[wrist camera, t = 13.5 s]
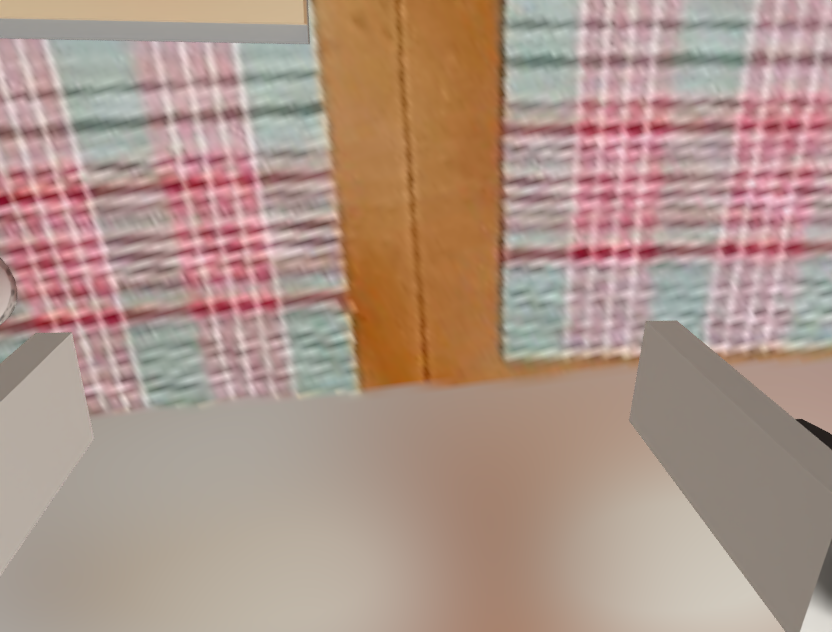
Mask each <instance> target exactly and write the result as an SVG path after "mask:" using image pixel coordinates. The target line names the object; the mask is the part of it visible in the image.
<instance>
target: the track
mask: <svg viewBox="0 0 832 632" xmlns="http://www.w3.org/2000/svg"><path fill="white" fill-rule="evenodd" d="M0 38H10V39H64V40H118V41H171V42H225V43H279V44H310V39H309V16H308V0H0Z"/></svg>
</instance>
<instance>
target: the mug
mask: <svg viewBox="0 0 832 632" xmlns="http://www.w3.org/2000/svg"><path fill="white" fill-rule="evenodd" d="M16 302H17V287H16V283H15V279H14V277H13V275H12V273H11V271H10V269H9V267H8V266H7V265H6V264H5V263H4V261H3V260H2V259H1V258H0V325H1V324H2V323H3V322H4V321H5V320H6V319H7V318H9V317H10V315H11V314H12V312H13V311H14V308H15V306H16Z"/></svg>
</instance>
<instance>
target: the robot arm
mask: <svg viewBox="0 0 832 632" xmlns="http://www.w3.org/2000/svg"><path fill="white" fill-rule="evenodd" d="M629 421H630V423H631V424H632V425H633V427H634V428H635V429H636V431H637V432H638V433H639V435H640V436H641V437H642V439H643V440H644V441H645V443H646V444H647V446H648V447H649V448H650V450H651V451H652V452H653V454H654V455H655V456H656V458H657V459H658V460H659V462H660V463H661V464H662V466H663V467H664V468H665V470H666V471H667V472H668V474H669V475H670V476H671V478H672V479H673V481H674V482H675V483H676V485H677V486H678V487H679V489H680V490H681V491H682V493H683V494H684V495H685V497H686V498H687V499H688V501H689V502H690V503H691V505H692V506H693V508H694V509H695V510H696V512H697V513H698V514H699V516H700V517H701V518H702V520H703V521H704V522H705V524H706V525H707V526H708V528H709V529H710V530H711V532H712V533H713V534H714V536H715V537H716V539H717V540H718V541H719V543H720V544H721V545H722V546H723V548H724V549H725V550H726V552H727V553H728V555H729V556H730V557H731V559H732V560H733V561H734V563H735V564H736V565H737V567H738V568H739V569H740V570H741V572H742V574H743V575H744V576H745V578H746V579H747V580H748V582H749V583H750V584H751V586H752V587H753V588H754V590H755V591H756V592H757V594H758V595H759V596H760V598H761V599H762V600H763V602H764V603H765V605H766V606H767V607H768V608H769V610H770V611H771V612H772V614H773V615H774V617H775V618H776V619H777V621H778V622H779V623H780V625H781V626H782V627H783V629H784V630H785V632H832V435H831V434H830V433H828V432H826V431H824V430H822V429H820V428H819V427H817V426H815V425H813V424H811V423H809V422H807V421H805V420H803V419H794V418H793V417H792V416H790V415H789V414H788V413H787V412H786V411H785V410H783V409H782V408H781V407H780V406H778V405H777V404H776V403H775V402H774V401H773V400H771V399H770V398H769V397H767V395H765V394H764V393H763V392H762V391H760V390H759V389H758V388H757V387H755V386H754V385H753V384H752V383H751V382H750V381H748V380H747V379H746V378H745V377H744V376H743V375H741V374H740V373H739V372H738V371H737V370H735V369H734V368H733V367H732V366H731V365H729V364H728V363H727V362H726V361H725V360H723V359H722V358H721V357H720V356H719V355H717V354H716V353H715V352H714V351H713V350H711V349H710V348H709V347H708V346H707V345H705V344H704V343H703V342H702V341H701V340H699V339H698V338H697V337H696V336H695V335H693V334H692V333H691V332H690V331H689V330H687V329H686V328H685V327H684V326H683V325H681V324H680V323H679V322H678V321H646V324H645V330H644V336H643V342H642V347H641V353H640V359H639V365H638V371H637V377H636V383H635V389H634V395H633V401H632V407H631V413H630V419H629ZM93 440H94V436H93V431H92V426H91V421H90V417H89V412H88V407H87V402H86V398H85V393H84V388H83V383H82V379H81V374H80V369H79V364H78V360H77V355H76V350H75V345H74V341H73V336H72V333H35V334H34V335H33V336H32V337H30V338H29V339H28V340H27V341H26V342H25V343H24V344H22V345H21V346H20V347H19V348H18V349H17V350H16V351H14V352H13V353H12V354H11V355H10V356H9V357H7V358H6V359H5V360H4V361H3V362H2V363H1V364H0V576H1V574H2V573H3V571H4V570H5V569H6V567H7V566H8V564H9V563H10V561H11V560H12V558H13V557H14V555H15V554H16V552H17V551H18V549H19V548H20V547H21V545H22V544H23V542H24V540H25V539H26V538H27V536H28V535H29V533H30V532H31V530H32V529H33V528H34V526H35V524H36V523H37V522H38V520H39V519H40V517H41V516H42V514H43V513H44V511H45V510H46V508H47V507H48V505H49V504H50V503H51V501H52V500H53V498H54V497H55V495H56V494H57V492H58V491H59V489H60V488H61V487H62V485H63V484H64V482H65V481H66V479H67V478H68V476H69V475H70V473H71V472H72V470H73V469H74V467H75V466H76V465H77V463H78V462H79V460H80V459H81V457H82V456H83V454H84V453H85V451H86V450H87V448H88V447H89V446H90V444H91V442H92V441H93Z"/></svg>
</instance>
